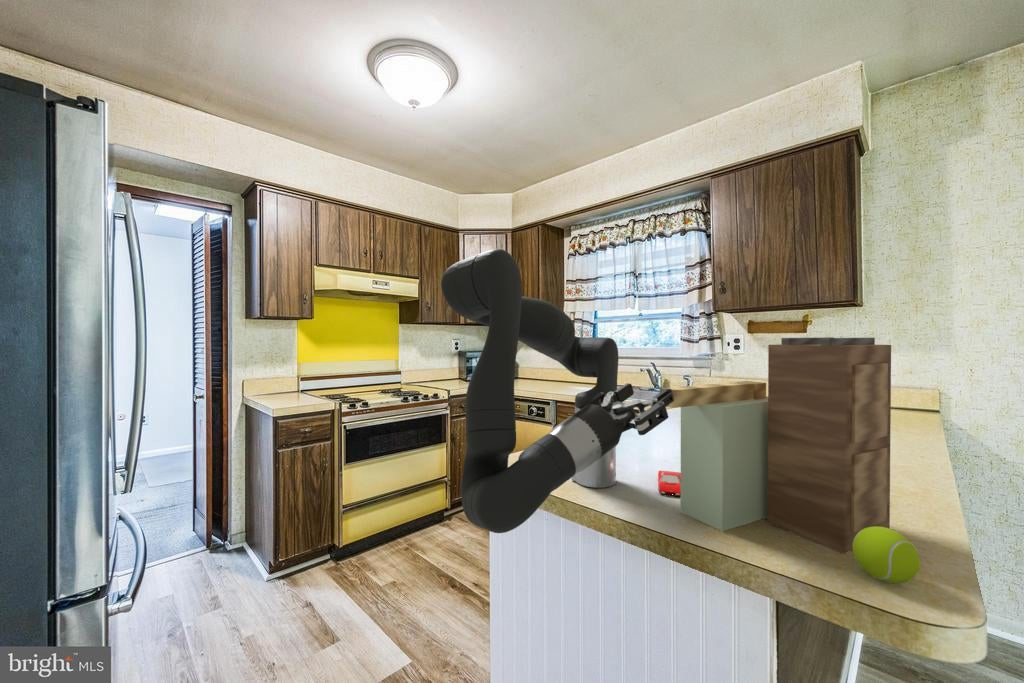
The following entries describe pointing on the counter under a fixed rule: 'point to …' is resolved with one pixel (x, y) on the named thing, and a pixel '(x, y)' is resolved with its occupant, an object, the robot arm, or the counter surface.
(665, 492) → the toy car
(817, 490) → the wooden cabinet
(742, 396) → the wooden plank
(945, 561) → the counter surface
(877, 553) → the tennis ball
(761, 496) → the tall sage green block
